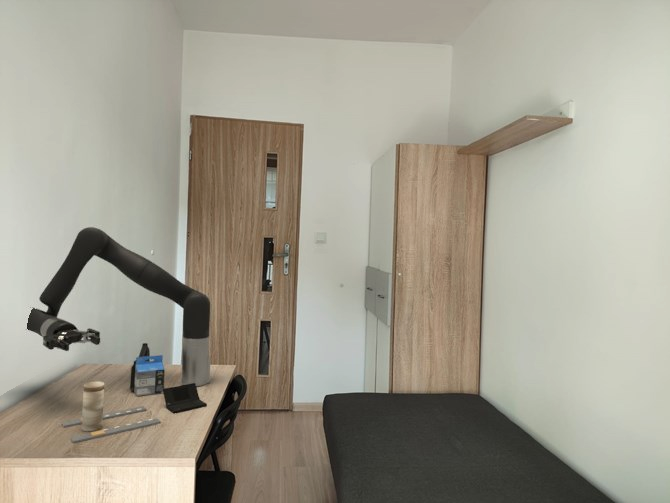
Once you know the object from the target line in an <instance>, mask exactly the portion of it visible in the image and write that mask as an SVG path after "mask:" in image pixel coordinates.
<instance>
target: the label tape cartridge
mask: <svg viewBox="0 0 670 503" xmlns="http://www.w3.org/2000/svg"><path fill="white" fill-rule="evenodd" d="M163 358H164V357H163V354H161V355H159V354H158V355H150V356H146V357H139V356H136V357H135V360H136V366H135V388H134V389H133V391H134V395H135V396H136V397H141V396H142V397H143V396H149V395H156V394H163V389H165V374H166V372H165V366H164V362H163ZM148 359H150V361H147V362H145V360H148Z"/></svg>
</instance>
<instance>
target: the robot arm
mask: <svg viewBox="0 0 670 503" xmlns="http://www.w3.org/2000/svg"><path fill="white" fill-rule="evenodd" d="M94 256H95V257H98V258H99V259H102V260H104V261H105V262H108V263H109V264H111V265H112V266H113V267H115V268H116V269H117V270H118V271H120V272H121V273H122V274H123V275H125V276H126V277H127V278H128V279H129V280H130V281H132V282H133V283H136V284H137V285H138V286H140V287H141V288H144V289H146V290H147V291H149V292H152V293H153V294H156V295H158V296H162V297H164V298H166V299H169V300H170V301H172V302H174V303H175V304H176V305H178V306H180V308H182V310H183V315H182V351H181V352H182V354H181V356H182V357H181V377H180V380H181V382H180V383H181V385H186V384H192V383H195V384H196V387H201V386H205V385H207V384H209V383H210V381H211V356H209V352H210V351H209V349H210V347H209V346H210V343H209V342H210V323H211V322H210V319H211V318H210V317H211V302H210V298H209V297H208V295H206V294H205V293H203V292H200V291H198V290H196V289H194V288H192V287H190V286H189V285H186V284H184V283H183V282H181V281H179V280H178V279H177V278H176V277H174V276H173V275H172V274H171V273H170V272H168V271H166V270H165V269H164V268H162V267H160V266H159V265H158V264H156V263H155V262H153V261H151V260H150V259H147V258H146V257H144V256H142V255H140V254H138V253H136V252H134V251H132V250H130V249H128V248H126V247H124V246H123V245H122V244H120V243H119V242H117V241H116V240H115V239H113V238H112V237H111V236H110V235H108V234H107V233H106V232H105V231H103V230H102V229H101V228H97V227H94V226H89V227H85V228H83V229H81V230H80V231H79V232H78V233H77V235H76V237H75V239H74V242H73V244H72V246H71V247H70V250H69V252H68V254H67V255H66V257H65V260H64V261H63V263H62V264H61V265H60V268H59V269H58V270H57V272H55V274H54V275H53V277H52V278H51V279H50V281H49V283H48V284H47V286H46V287H45V288H44V290H43V291H42V293H41V294H40V296H39V302H41V304H43V305H44V306H47V310H46V311H44V310H41V309H39V308H36V309H35V307H32V308H33V309H32V310H31V313H30V315H29V318H28V323H27V329H28V331H30V332H33V333H35V334H38V335H39V336H40V337H42V345H43V346H44V347H45V348H47V349H48V350H51V351H52V350H54V349H55V348H56V349H58V350H62V351H65V352H69V350H70V346H71V345H72V344H77V343H78V344H85V343H92V344H93V345H95V346H98V345H100V344H101V336H100V334H101V332H100V331H98V330H96V329H93V328H90V327H89V328H87V329H86V330H80V329H78V327H76V325H75V324H73V323H71V322H69V321H67V320H66V319H63V318H59V317H58V316H59V313H60V310H61V308H62V306H63V303H64V302H65V301H66V299H67V298H68V296H69V295H70V293H71V292H72V290H73V289H74V287H75V285H76V283H77V281H78V279H79V277H80V275H81V273H82V271H83V270H84V268H85V266H86V265H87V263H89V261H90V260H92V258H93V257H94ZM27 329H26V330H27Z"/></svg>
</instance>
